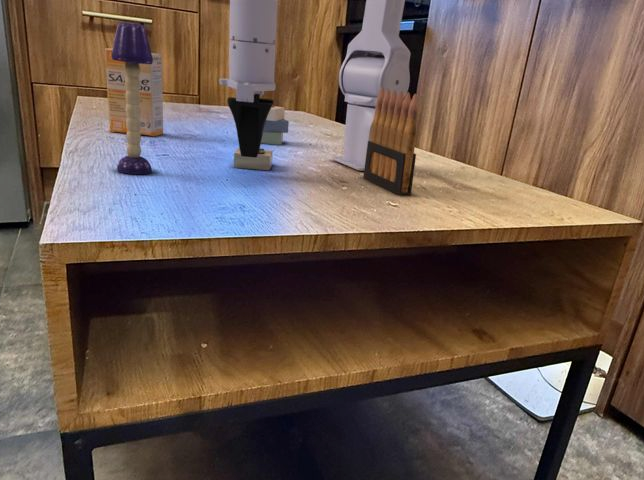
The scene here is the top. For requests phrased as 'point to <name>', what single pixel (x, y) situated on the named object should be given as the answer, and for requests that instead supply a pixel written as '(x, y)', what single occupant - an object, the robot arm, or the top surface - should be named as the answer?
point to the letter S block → (254, 160)
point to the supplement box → (148, 93)
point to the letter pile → (275, 126)
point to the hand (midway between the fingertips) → (249, 156)
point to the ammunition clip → (392, 142)
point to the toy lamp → (132, 90)
